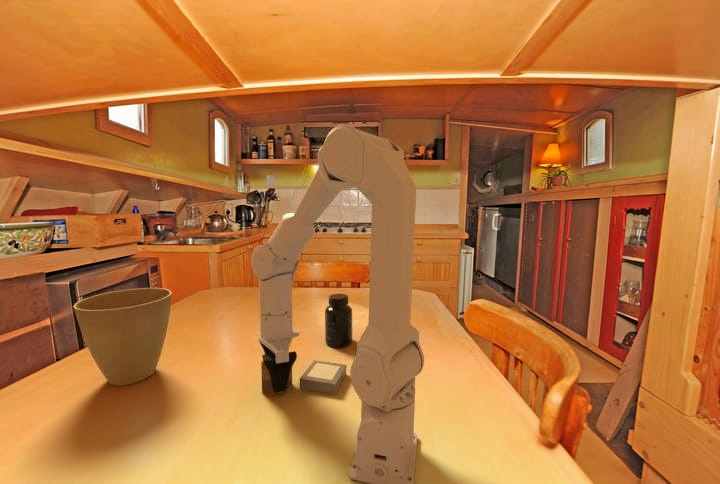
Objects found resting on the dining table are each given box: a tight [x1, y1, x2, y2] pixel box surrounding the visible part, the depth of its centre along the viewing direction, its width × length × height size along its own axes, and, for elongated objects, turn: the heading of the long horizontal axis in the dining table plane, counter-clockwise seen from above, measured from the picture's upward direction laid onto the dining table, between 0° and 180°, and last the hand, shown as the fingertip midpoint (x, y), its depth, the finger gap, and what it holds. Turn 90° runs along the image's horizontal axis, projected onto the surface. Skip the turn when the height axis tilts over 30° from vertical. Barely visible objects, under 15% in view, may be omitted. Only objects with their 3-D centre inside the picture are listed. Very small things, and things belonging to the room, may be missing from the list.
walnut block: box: [260, 352, 293, 397], centre depth 56 cm, size 4×4×6 cm
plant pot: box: [72, 287, 173, 387], centre depth 59 cm, size 15×15×16 cm
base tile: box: [299, 359, 347, 395], centre depth 59 cm, size 7×7×2 cm
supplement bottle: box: [324, 293, 353, 349], centre depth 75 cm, size 7×7×12 cm
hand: (277, 381), depth 56 cm, fingers closed on walnut block, 6 cm apart
